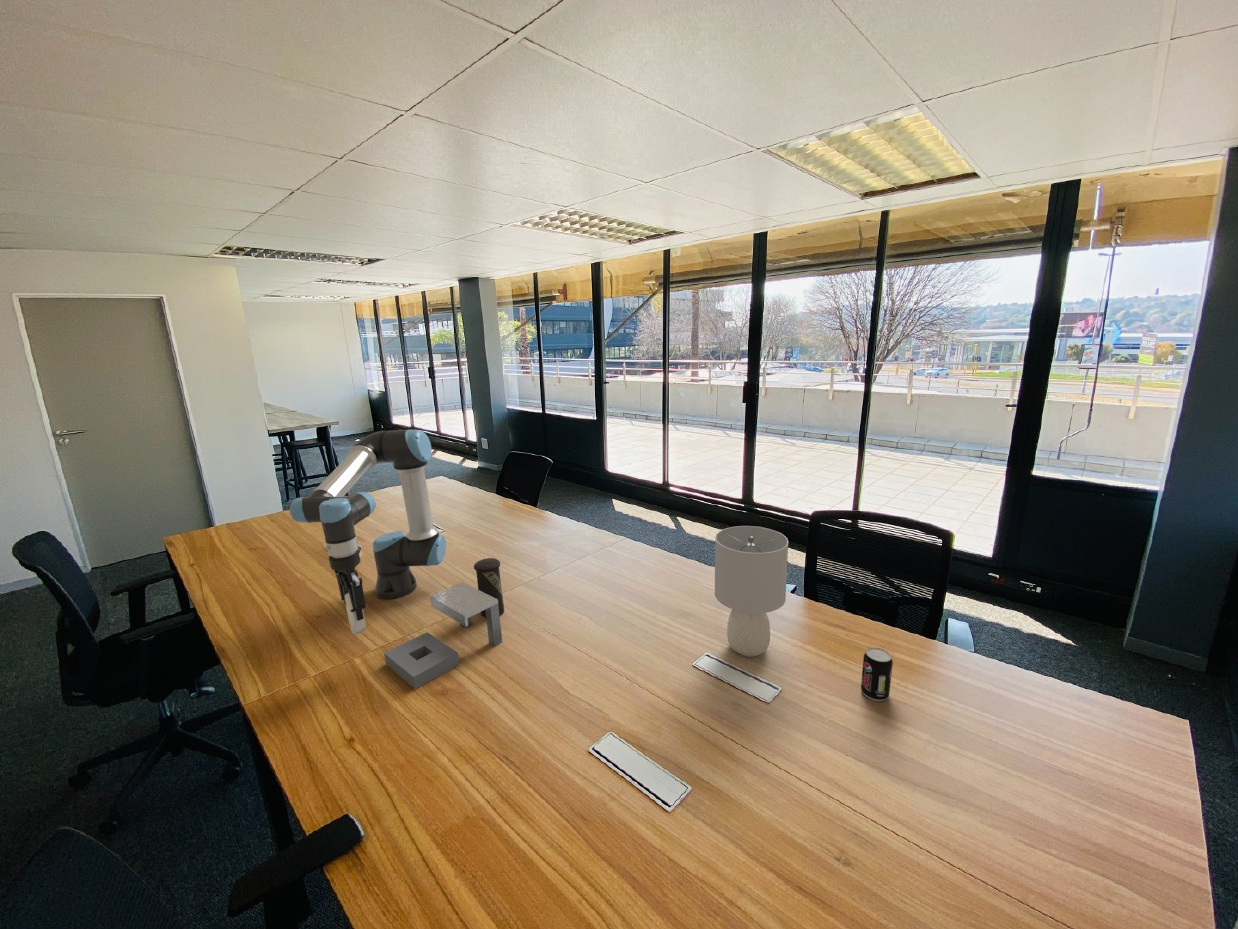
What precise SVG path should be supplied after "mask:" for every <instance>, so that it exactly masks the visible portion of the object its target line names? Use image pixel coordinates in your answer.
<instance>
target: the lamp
mask: <svg viewBox="0 0 1238 929" xmlns="http://www.w3.org/2000/svg"><path fill="white" fill-rule="evenodd" d="M788 550H789V540H788V537H786V536H785V535H784V534H783V533H782V532H779V531H776V530H773V529H770V528H766V527H762V526H755V525H754V526H752V525H751V526H750V525H740V526H739V525H738V526H732V527H730V526H729V527H727V528H724V529H721V530H720V531H718V532H717V533H715V538H714V597H715V599H716V600H717V601H718V602H719V603H720V604H722V605H723V606H725V607H727V608H729V609H730V610H731V611H730V613H729V615H728V621H727V627H726V636H727V637H726V638H727V642H728V645H729V647H730V648H731V649H732V650H733V651H734V652H735V653H737V654H739V655H741V656H743V657H744V656H745V657H749V658H751V657H754V658H755V657H758V656H760V655H762V654H764V653H765V652H767V650H768V648H769V646H770V641H771V625H770V620H769V616H768V614H767V613H772V612H775V611H776V610H778V609H781V608H782V607H783V606H784V605H785V603H786V601H787V600H786V596H787V594H786V593H787V580H788V579H787V577H788V576H787V575H788V574H787V573H788V554H789V551H788Z"/></svg>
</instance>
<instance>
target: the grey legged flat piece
mask: <svg viewBox="0 0 1238 929" xmlns="http://www.w3.org/2000/svg"><path fill="white" fill-rule="evenodd" d="M429 599H430V604H431V605H430V606H431V607H432V608H434V609H435V610H437V611H439V612H440V613H442V614H444V615H445V616H448V617H449V618H450V619H452V620H454V621H456V622H458V623H459V627H462V628H463V629H467V628H469V627H470V626H472V625H473V620H472V618H473V616H475V615H477V614H480V612H481V611H483V610H485V612H486V618H485V620H486V627H487V630H486V631H487V636H488V644H489V645H491V646H493V647H496V646H498V645H499V644H502V643H503V636H502V626H501V615H499V606H498V599H496V598H494V597H492V596H490V595H488V594H486V593H484V592H482V591H480V590H478V588H475V587H474V586H472V585H470V584H469V583H468V584H467V583H466V582H464V581H461V582H459V583H457V584H455V585H452V586H450V587H448V588H445V589H443V590H440V591H438V592H437V593H436V592H435V593H434V594H431V595H430V596H429Z"/></svg>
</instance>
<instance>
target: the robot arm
mask: <svg viewBox="0 0 1238 929" xmlns="http://www.w3.org/2000/svg"><path fill="white" fill-rule="evenodd" d="M432 450H433V449H432V443H431V440H430V439H429V436H428V435H427V434H426V433H425V432H424V431H422V430H420V429H398V430H394V429H393V430H380V431H376V432H373V433H370V434H368V435H367V436H365V437H363V438H362V439H360V440H359V441H357V442H356V443H355V444H354V445H353V446H352V447H351V448H349V450H348V455H347V456H346V458H344V459H343V460H342V461H341V463H340V464H338V465H337V467H335V469H333V471H332V472H330V474H329V475H328V476H326V478H325V479H324V480H323V481H322V482H321V483H320V484H319V485H318V486H317V487H316V488H315V489H314V490H313V491H312V492H311V493H310V494H309V495H308V496H302V497H296V498H295V499H293V500H292V502H291V504H290V505H289V506H290V507H289V515H290V516H291V519H292V520H293V521H294V522H296V523H307V524H311V523H313V524H314V523H321V526H322V530H323V535H324V541H325V544H326V546H325V547H324V550H326V551H327V555H328V561H329V566H330V569H331V570H332V571H334V574H335V576H336V581H337V585H338V590H339V594H340V598H341V601H343V603H344V604H345V608H346V614H347V617H348V618H347V619H348V623H349V626H350V627H351V625H350V620H349V616H348V611H347V606H346V601H345V594H347V593H349V596H350V600H351V603H352V607H353V609H352V610H350V611H351V612H352V614H353V619H354V624H355V629H356V631H358V630H360V629H362V628H365V629H366V627H367V623H366V618H365V613H364V609H366V607H367V606H366V600H365V593H364V587H363V578H362V577H358V576H359V573H358V570H356V567H357V566H358V565H359V564H360V563H361V556H360V551H359V545H358V544H359V543H358V540H357V539H358V538H357V535H356V531H355V529H356V528H355V526H356V525H357V524H358V523H359V522H360V523H361V521H363V520H364V519H366V518H369V516H370V515H371V514H372V513H373V512H374V511H375V509H376V506H377V505H376V504H377V503H376V500H375V498H374V497H373V495H372V494H370V493H368V492H366V491H359V492H355V493H353V494H352V495H346V494H347V493H348V492H349V491H351V489H352V488H353V486H354V485H355V484H356V483H357V482H358V480H360V478H361V477H362V476H363V475H365V473H366V472H367V471H368V470H370V469H373V468H374V467H375V466H376V465H378V464H382V463H392V464H393V469H394V471H396V472H398V473H399V478H400V484H401V490H402V496H403V500H404V506H405V512H406V516H407V523H408V529H409V531H408V532H407V534H405V532H404V531H401V530H399V531H398V530H395V531H392V532H388V533H387V532H386V533H385V534H382V535H381V536H378V537H377V538H375V539H374V541H373V542H372V549H373V551H372V552H373V555H374V562H375V567H376V572H377V578H376V583H375V586H374V592H375V596H376V597H377V598H379V599H384V600H391V599H398V598H401V597H403V596H407V595H409V594H410V593H412V592H413V591H415V590H416V589H417V586H418V584H417V580H416V577H415V576H414V574H413V572H412V570H411V568H410V567H430V566H431V567H433V566H438V565H440V564H441V563H442V561H443V560H444V557H445V555H446V550H447V540H446V537H445V536H444V535H442V534H439V529H438V528H437V527H435V526H434V523H433V517H432V512H431V511H432V509H431V504H430V499H429V491H428V485H427V479H426V473H425V468H426V467H427V465H428V461H430V460H431V457H432Z"/></svg>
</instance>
